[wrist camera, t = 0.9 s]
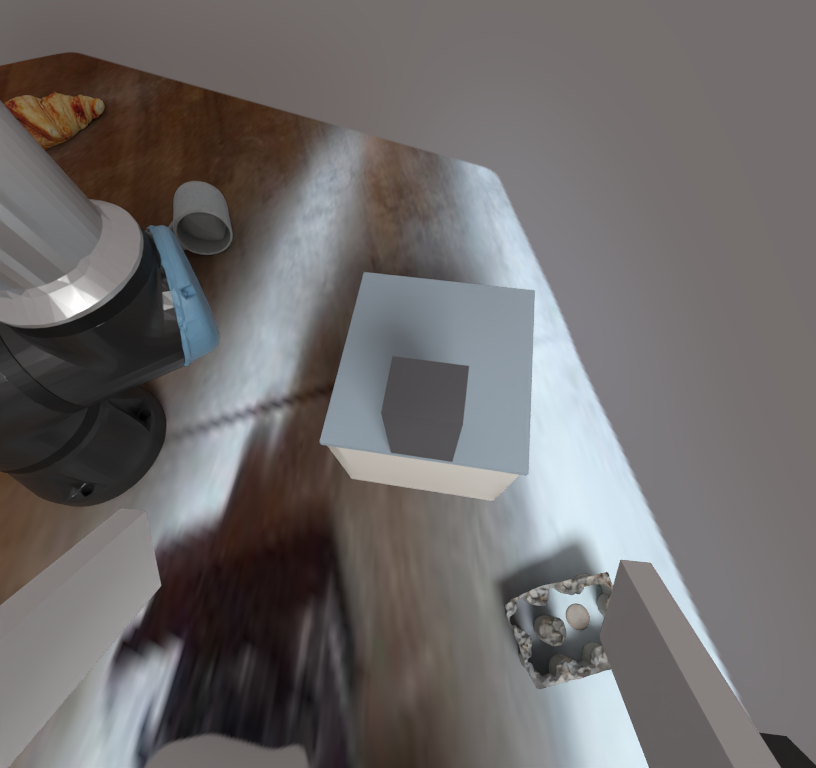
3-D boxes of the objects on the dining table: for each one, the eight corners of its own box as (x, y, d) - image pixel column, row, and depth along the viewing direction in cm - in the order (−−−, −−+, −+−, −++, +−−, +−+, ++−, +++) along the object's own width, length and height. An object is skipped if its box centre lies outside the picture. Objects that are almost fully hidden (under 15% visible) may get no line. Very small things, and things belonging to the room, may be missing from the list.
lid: (525, 475, 32) (565, 438, 24) (321, 444, 34) (286, 399, 25) (532, 295, 40) (564, 216, 31) (364, 277, 41) (349, 196, 33)
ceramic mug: (234, 211, 65) (210, 167, 58) (241, 247, 61) (217, 206, 54) (167, 229, 64) (135, 187, 57) (171, 267, 60) (138, 227, 53)
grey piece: (595, 568, 42) (612, 567, 38) (629, 652, 38) (652, 661, 35) (496, 595, 41) (504, 597, 37) (522, 684, 37) (534, 695, 34)
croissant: (115, 123, 81) (82, 75, 76) (117, 119, 74) (81, 66, 69) (6, 169, 75) (-37, 121, 70) (-4, 169, 68) (-53, 116, 63)
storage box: (493, 500, 44) (519, 474, 33) (351, 478, 46) (327, 446, 34) (503, 358, 52) (527, 295, 40) (381, 343, 53) (369, 278, 42)
